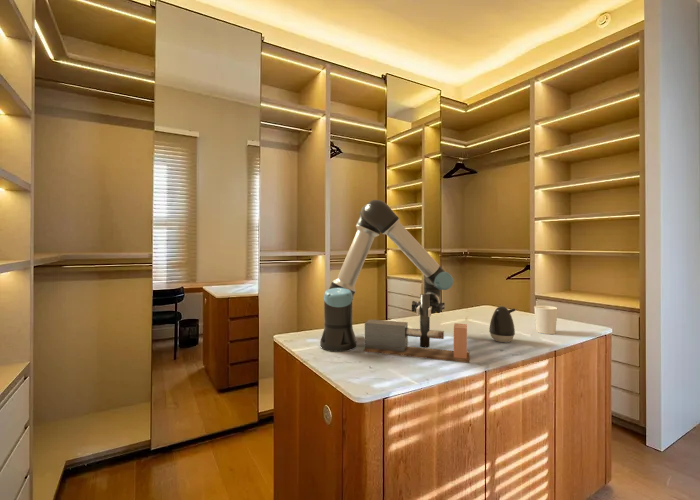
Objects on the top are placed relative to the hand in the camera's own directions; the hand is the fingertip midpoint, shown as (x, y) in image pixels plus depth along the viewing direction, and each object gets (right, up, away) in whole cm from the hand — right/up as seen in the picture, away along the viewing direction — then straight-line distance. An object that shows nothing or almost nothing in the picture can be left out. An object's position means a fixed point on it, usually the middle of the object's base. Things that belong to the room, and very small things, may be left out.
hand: (423, 312), depth 129 cm
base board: (-2, -17, +6) cm, 18 cm away
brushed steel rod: (-3, -14, +7) cm, 16 cm away
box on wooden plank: (-13, -16, +10) cm, 23 cm away
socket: (+14, -16, +1) cm, 21 cm away
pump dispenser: (+39, -17, +23) cm, 49 cm away
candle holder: (+67, -16, +38) cm, 79 cm away
